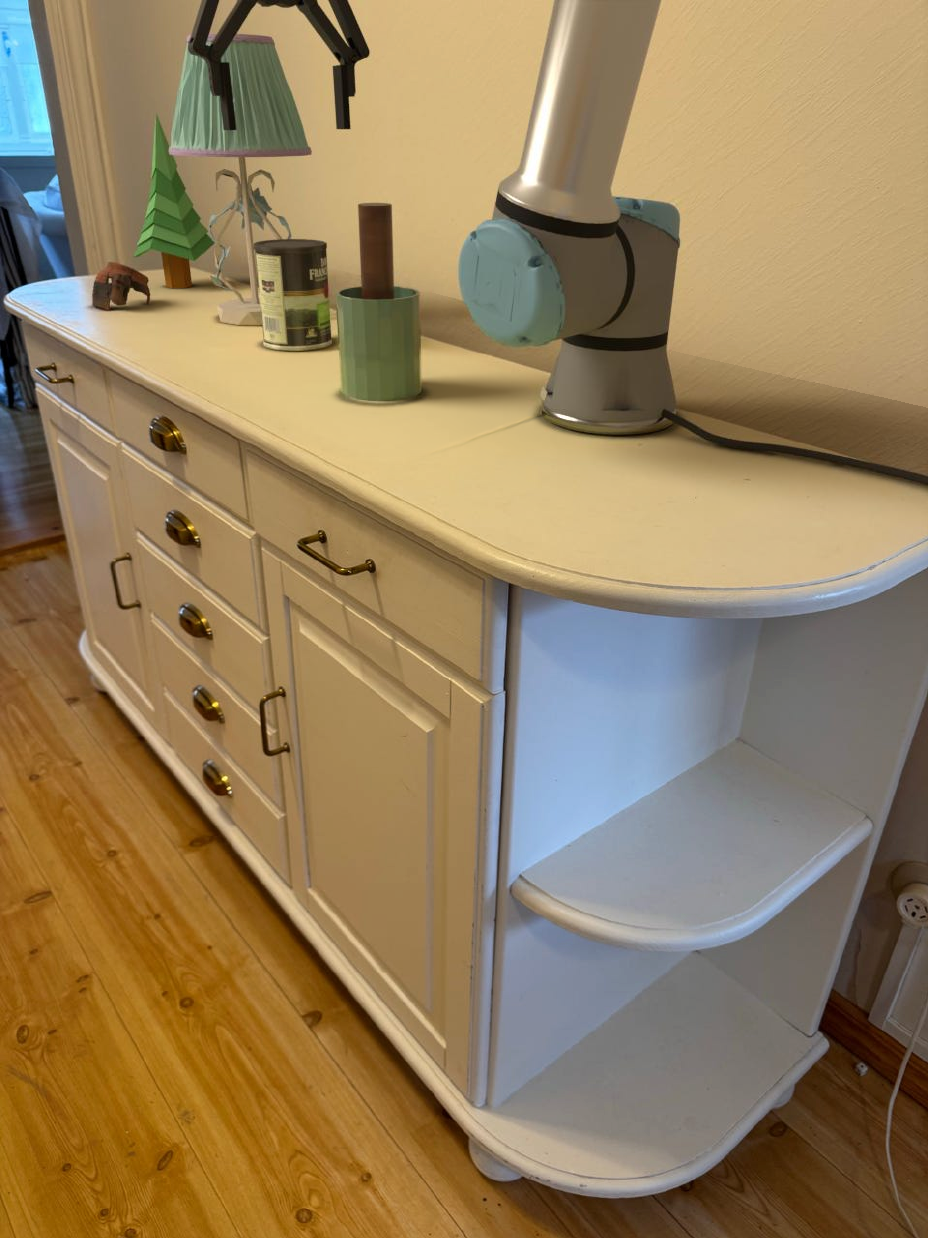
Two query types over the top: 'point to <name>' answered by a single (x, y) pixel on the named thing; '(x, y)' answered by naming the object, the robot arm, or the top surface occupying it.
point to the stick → (376, 250)
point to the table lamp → (239, 142)
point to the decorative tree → (171, 218)
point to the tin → (379, 344)
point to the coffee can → (293, 294)
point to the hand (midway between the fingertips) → (288, 129)
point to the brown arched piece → (117, 285)
